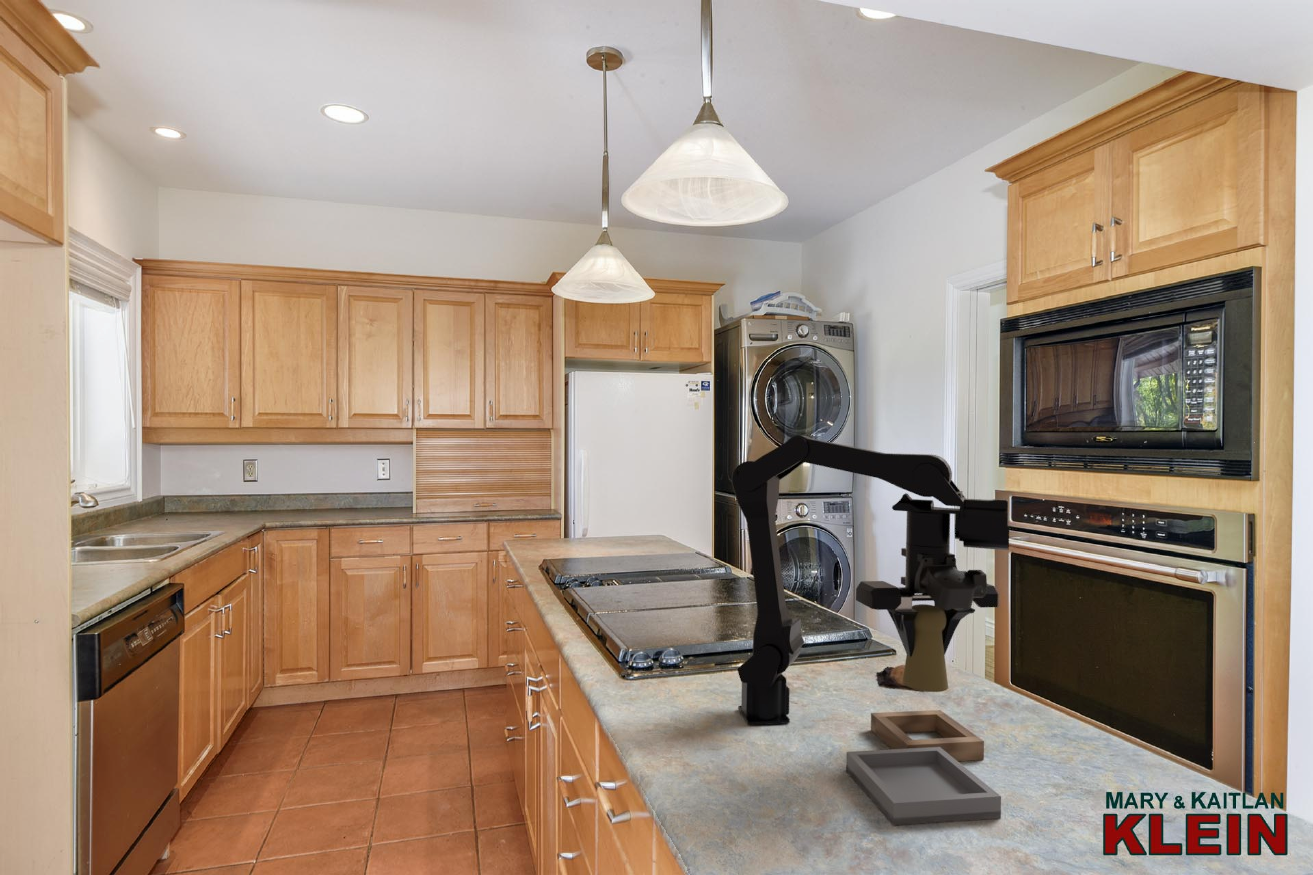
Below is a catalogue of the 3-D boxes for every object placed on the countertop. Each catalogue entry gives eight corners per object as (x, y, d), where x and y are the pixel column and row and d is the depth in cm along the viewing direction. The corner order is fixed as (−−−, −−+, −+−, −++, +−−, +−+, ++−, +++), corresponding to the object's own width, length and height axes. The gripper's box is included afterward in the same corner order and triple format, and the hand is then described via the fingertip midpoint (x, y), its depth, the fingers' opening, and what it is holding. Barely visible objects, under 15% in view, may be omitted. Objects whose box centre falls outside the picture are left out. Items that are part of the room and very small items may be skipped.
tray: (893, 825, 79) (894, 802, 79) (846, 770, 92) (846, 751, 92) (1000, 817, 81) (1001, 796, 81) (939, 765, 94) (939, 746, 94)
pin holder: (907, 763, 95) (907, 744, 95) (870, 729, 105) (871, 712, 105) (983, 759, 96) (984, 741, 96) (939, 726, 107) (940, 709, 107)
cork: (952, 693, 96) (954, 612, 96) (905, 689, 97) (907, 609, 97) (943, 678, 102) (945, 602, 102) (899, 675, 103) (900, 599, 103)
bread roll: (934, 680, 130) (934, 659, 130) (944, 696, 121) (945, 674, 121) (873, 675, 132) (874, 655, 132) (879, 691, 123) (880, 670, 123)
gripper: (893, 554, 90) (890, 677, 90) (1026, 553, 93) (1024, 672, 93) (855, 541, 101) (853, 650, 101) (975, 540, 104) (973, 646, 104)
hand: (925, 655), depth 100 cm, fingers closed on cork, 4 cm apart
